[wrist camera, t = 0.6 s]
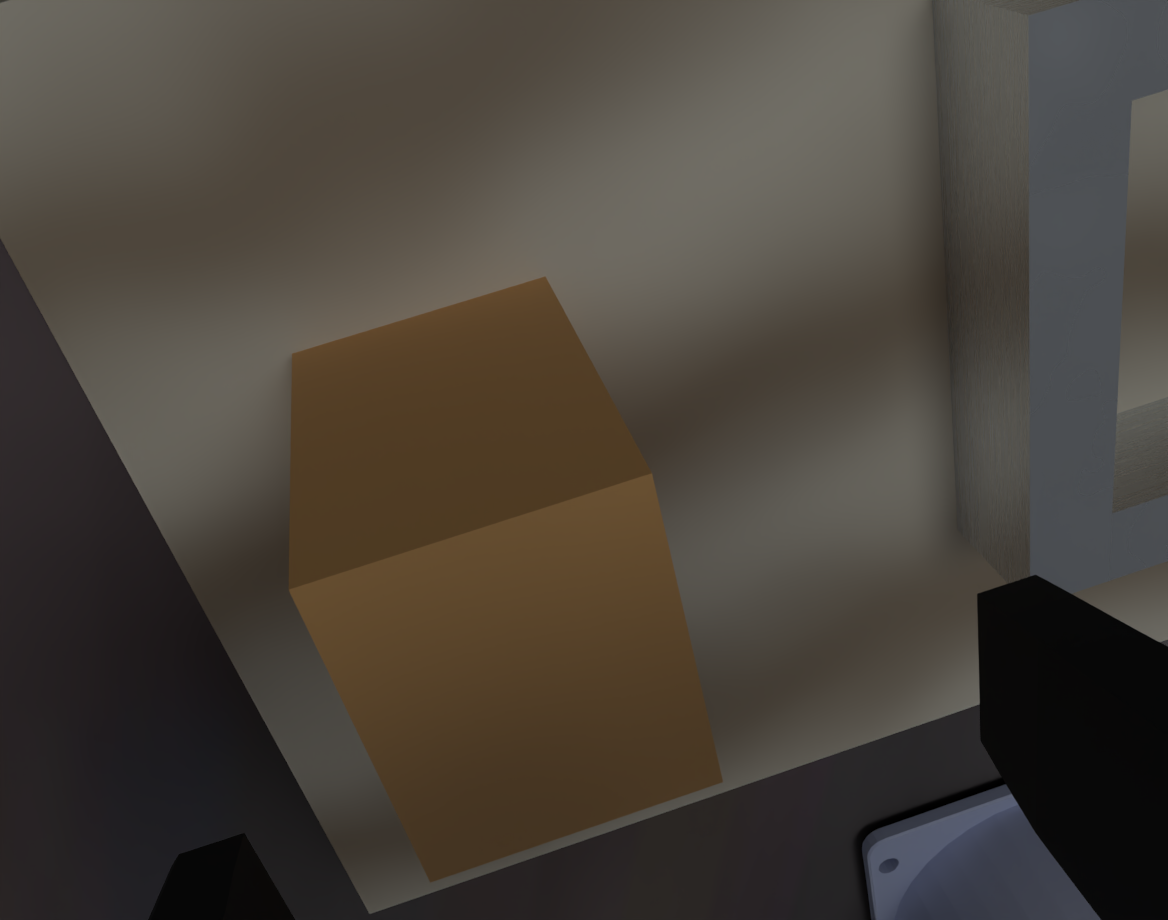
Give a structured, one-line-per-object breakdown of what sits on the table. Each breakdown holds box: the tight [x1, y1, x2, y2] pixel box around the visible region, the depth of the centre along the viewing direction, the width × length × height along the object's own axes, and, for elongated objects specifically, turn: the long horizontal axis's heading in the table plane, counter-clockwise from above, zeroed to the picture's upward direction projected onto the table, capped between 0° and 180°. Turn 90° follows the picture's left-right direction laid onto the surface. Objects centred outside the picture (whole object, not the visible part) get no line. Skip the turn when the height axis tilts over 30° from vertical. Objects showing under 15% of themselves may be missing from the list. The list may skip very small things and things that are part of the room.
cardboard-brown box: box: [289, 276, 723, 883], centre depth 15 cm, size 5×4×6 cm
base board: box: [0, 0, 1168, 914], centre depth 20 cm, size 18×32×1 cm, turn 103°
